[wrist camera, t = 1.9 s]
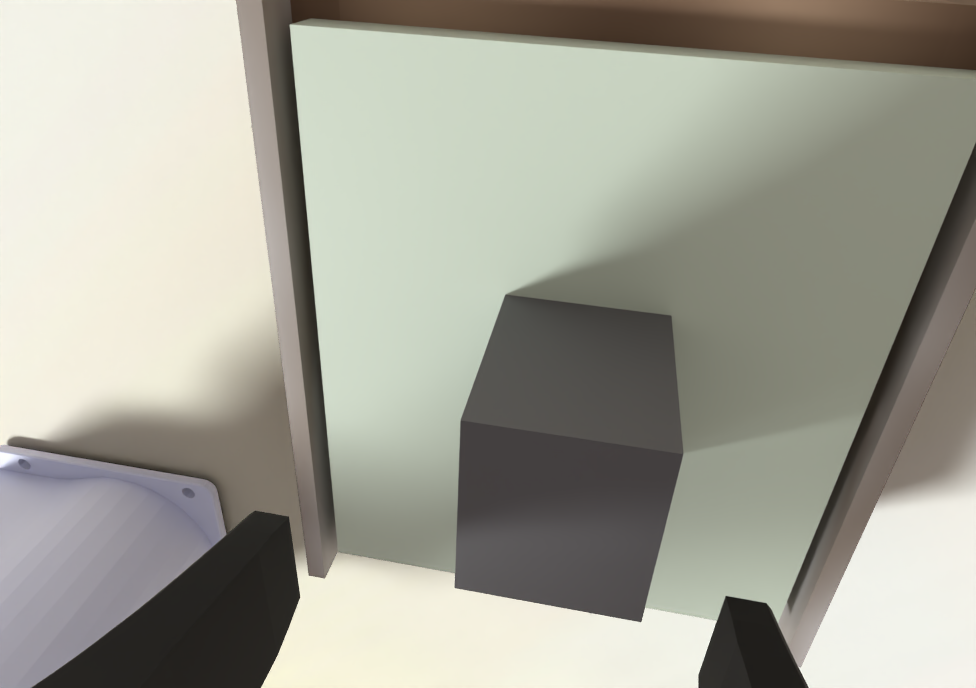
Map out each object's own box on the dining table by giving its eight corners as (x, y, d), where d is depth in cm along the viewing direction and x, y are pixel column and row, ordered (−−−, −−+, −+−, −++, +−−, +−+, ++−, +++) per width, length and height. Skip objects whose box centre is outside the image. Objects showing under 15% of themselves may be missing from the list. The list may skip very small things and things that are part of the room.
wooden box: (366, 461, 25) (308, 575, 21) (337, -50, 17) (230, -40, 12) (770, 526, 23) (800, 667, 19) (963, -9, 15) (1099, 19, 11)
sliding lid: (349, 526, 21) (269, 697, 16) (310, 18, 14) (145, 66, 9) (768, 600, 20) (810, 811, 15) (975, 70, 12) (1183, 160, 8)
